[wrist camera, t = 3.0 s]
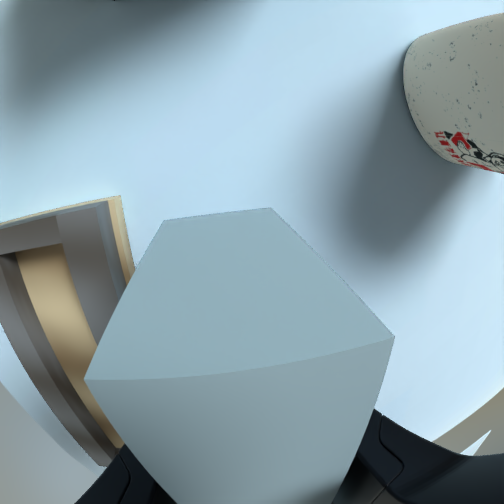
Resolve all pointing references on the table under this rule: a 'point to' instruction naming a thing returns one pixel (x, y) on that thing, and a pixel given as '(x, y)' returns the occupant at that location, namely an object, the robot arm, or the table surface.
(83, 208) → the grey and beige frame
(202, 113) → the table surface
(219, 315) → the light blue block
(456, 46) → the teacup with lid
